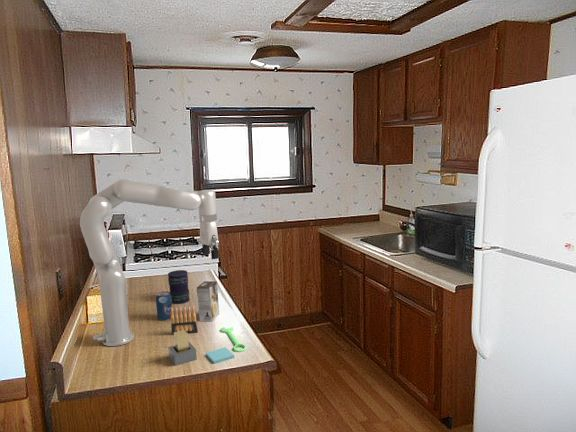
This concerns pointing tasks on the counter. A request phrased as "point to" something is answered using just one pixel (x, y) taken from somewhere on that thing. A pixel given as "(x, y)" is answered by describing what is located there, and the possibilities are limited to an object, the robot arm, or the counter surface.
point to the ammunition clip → (183, 324)
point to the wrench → (233, 339)
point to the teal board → (219, 355)
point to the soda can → (163, 305)
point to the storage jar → (178, 286)
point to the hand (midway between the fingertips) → (210, 256)
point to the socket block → (182, 355)
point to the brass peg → (181, 341)
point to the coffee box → (208, 301)
